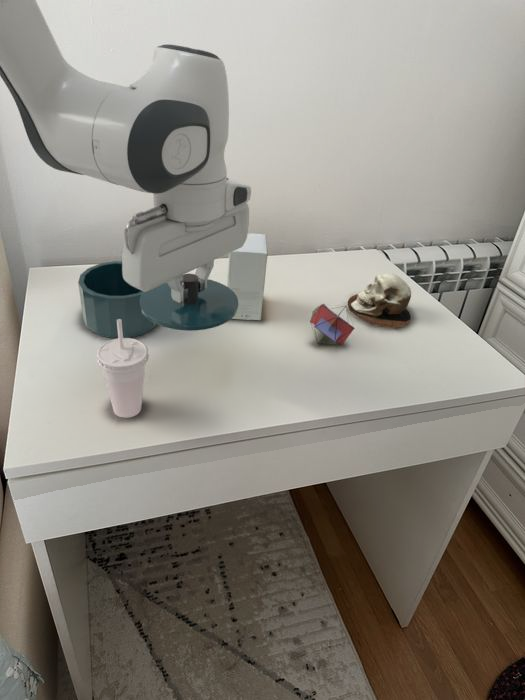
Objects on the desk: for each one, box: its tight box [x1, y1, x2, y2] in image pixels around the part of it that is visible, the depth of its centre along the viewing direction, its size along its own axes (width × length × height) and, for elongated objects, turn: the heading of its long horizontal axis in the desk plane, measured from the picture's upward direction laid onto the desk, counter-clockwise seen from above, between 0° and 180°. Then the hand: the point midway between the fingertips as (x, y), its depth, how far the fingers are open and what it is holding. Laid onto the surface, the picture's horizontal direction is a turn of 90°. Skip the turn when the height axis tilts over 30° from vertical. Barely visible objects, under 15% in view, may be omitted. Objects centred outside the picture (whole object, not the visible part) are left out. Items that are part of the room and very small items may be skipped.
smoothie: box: [96, 319, 150, 419], centre depth 69 cm, size 6×6×14 cm
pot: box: [77, 260, 158, 339], centre depth 89 cm, size 13×13×8 cm
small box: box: [226, 232, 269, 321], centre depth 93 cm, size 8×6×13 cm
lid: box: [139, 273, 239, 332], centre depth 73 cm, size 14×14×5 cm
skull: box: [347, 272, 412, 329], centre depth 99 cm, size 12×10×10 cm
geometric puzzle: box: [309, 303, 356, 346], centre depth 89 cm, size 7×7×8 cm
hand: (189, 294), depth 73 cm, fingers closed on lid, 2 cm apart
